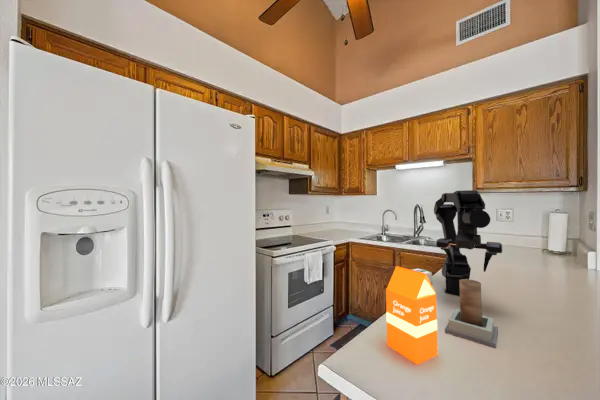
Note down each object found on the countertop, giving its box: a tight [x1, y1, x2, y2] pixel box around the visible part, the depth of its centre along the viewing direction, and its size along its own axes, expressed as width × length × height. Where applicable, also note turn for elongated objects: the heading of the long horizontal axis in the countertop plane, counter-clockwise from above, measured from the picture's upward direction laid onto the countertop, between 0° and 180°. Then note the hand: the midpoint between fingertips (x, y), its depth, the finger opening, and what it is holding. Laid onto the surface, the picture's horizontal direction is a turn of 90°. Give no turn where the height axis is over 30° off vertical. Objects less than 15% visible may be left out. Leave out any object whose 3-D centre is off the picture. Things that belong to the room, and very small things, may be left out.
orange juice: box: [385, 265, 439, 366], centre depth 59 cm, size 8×9×20 cm
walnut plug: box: [459, 278, 483, 327], centre depth 67 cm, size 5×5×13 cm
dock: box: [444, 308, 499, 349], centre depth 67 cm, size 11×11×4 cm
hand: (468, 269), depth 84 cm, fingers open, 9 cm apart
